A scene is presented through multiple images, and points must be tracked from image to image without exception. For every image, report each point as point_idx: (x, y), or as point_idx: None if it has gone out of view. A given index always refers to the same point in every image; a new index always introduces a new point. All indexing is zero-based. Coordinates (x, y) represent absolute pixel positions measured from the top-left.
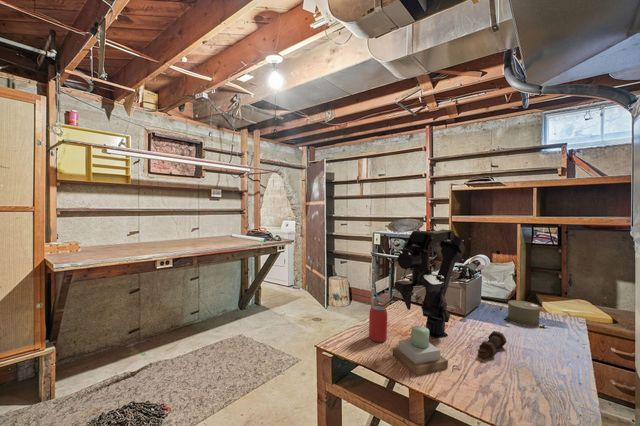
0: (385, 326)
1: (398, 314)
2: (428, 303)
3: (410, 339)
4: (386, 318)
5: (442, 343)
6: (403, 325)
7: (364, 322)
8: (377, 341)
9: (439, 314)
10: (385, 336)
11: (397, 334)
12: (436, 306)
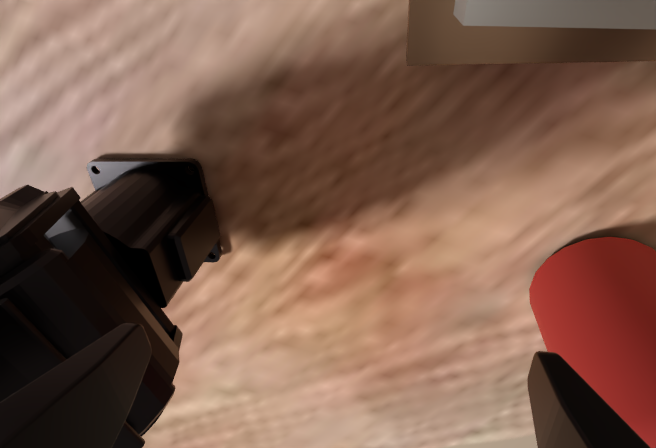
0: (634, 313)
1: (247, 430)
2: (122, 380)
3: (637, 17)
4: (650, 376)
5: (186, 82)
6: (298, 345)
7: (495, 436)
8: (649, 247)
9: (55, 248)
10: (592, 257)
11: (414, 281)
12: (24, 320)
